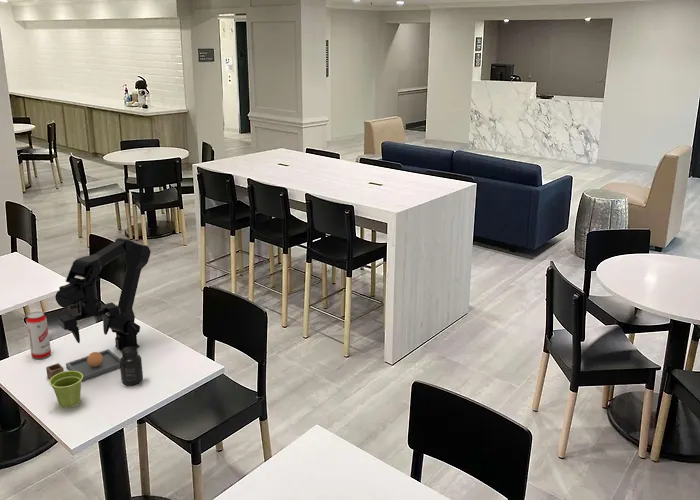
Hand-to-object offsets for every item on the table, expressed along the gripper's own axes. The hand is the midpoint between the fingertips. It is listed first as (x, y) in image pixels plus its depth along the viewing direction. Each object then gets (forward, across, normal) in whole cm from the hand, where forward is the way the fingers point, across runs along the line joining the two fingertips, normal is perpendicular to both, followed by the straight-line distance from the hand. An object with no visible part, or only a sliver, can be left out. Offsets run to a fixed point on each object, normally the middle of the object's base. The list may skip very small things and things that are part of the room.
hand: (92, 338), depth 204 cm
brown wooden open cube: (+11, +12, -2) cm, 17 cm away
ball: (+8, 0, 0) cm, 8 cm away
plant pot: (+12, +15, +15) cm, 24 cm away
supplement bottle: (+12, -5, +16) cm, 21 cm away
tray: (+11, 0, 0) cm, 11 cm away
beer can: (+12, +10, -20) cm, 25 cm away
